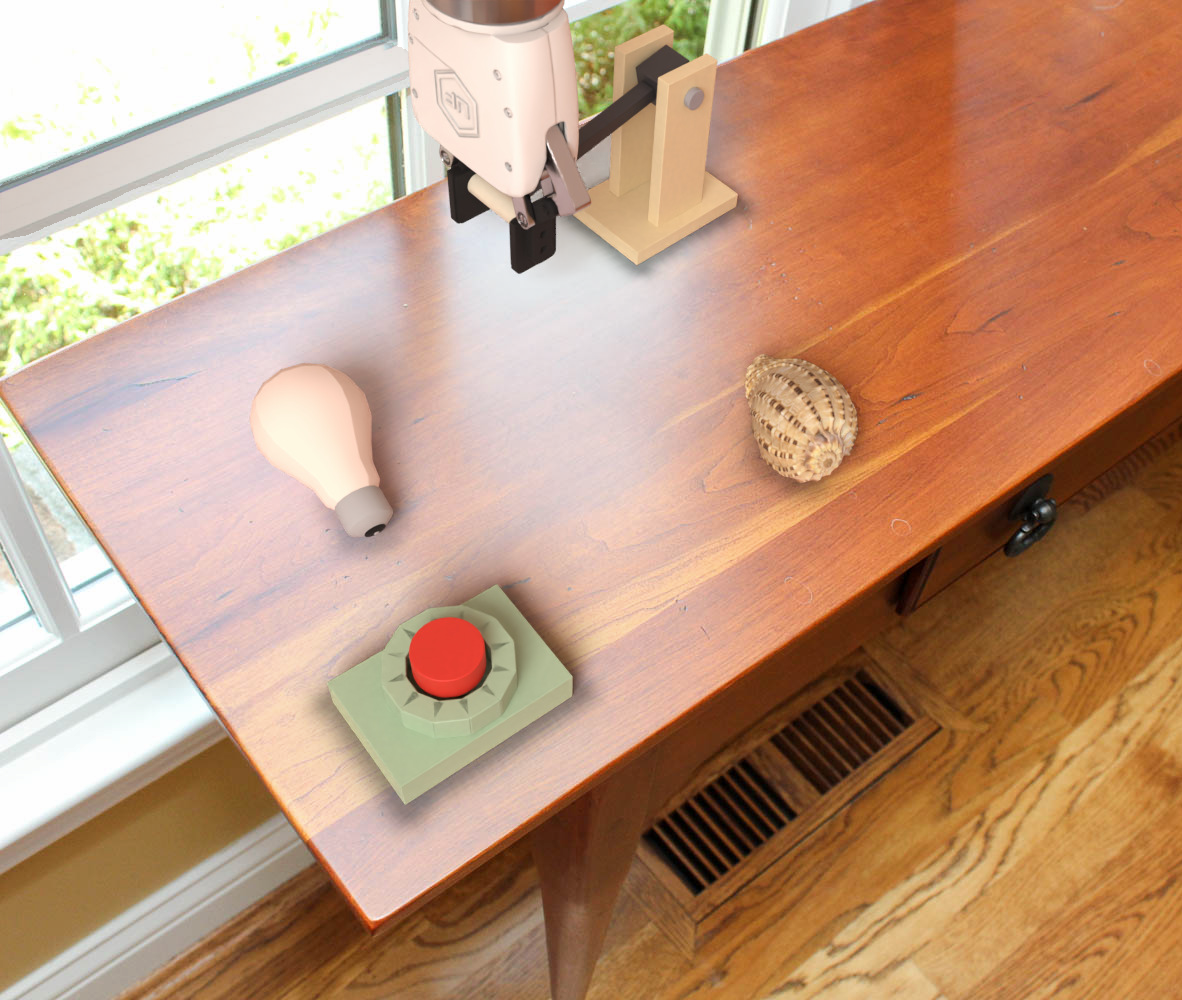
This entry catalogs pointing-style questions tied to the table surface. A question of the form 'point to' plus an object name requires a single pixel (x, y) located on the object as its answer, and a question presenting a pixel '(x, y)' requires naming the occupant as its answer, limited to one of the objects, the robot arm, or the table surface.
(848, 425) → the seashell
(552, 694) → the control block
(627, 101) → the lever
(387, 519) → the light bulb
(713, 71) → the bracket
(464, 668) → the button
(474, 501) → the table surface
